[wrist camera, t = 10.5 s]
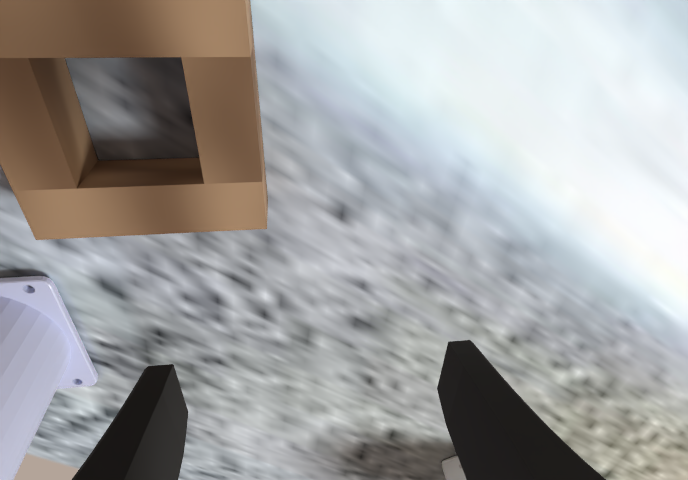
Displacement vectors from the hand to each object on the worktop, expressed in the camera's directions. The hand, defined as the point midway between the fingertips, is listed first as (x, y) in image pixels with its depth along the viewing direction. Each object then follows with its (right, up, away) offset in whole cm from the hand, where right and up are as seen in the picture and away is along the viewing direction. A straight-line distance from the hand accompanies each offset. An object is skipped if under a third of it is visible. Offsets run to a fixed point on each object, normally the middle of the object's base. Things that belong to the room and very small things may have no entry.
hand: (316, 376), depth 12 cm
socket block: (-7, +9, +5) cm, 13 cm away
